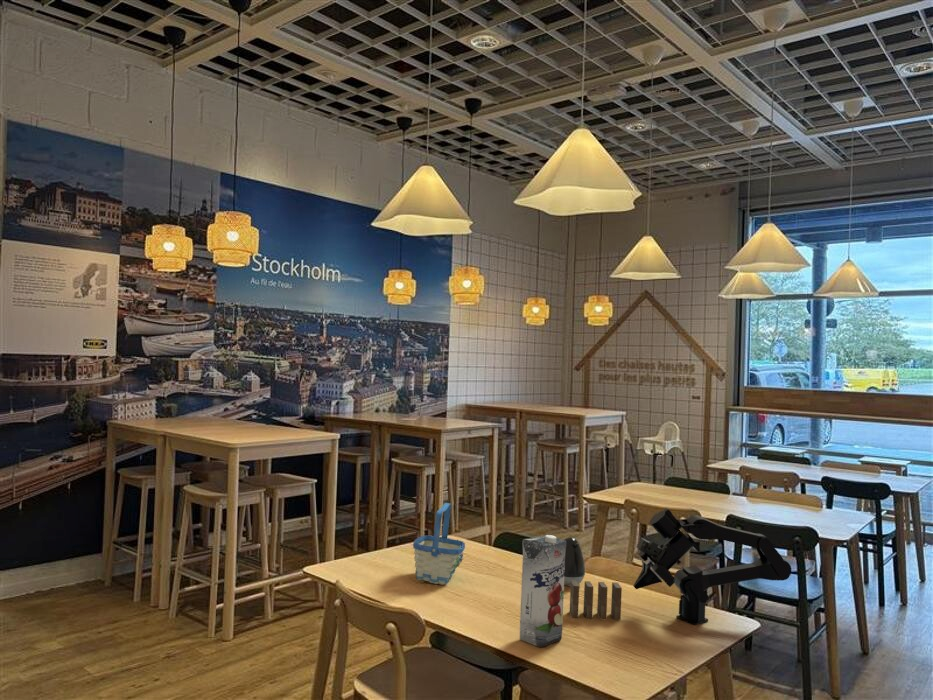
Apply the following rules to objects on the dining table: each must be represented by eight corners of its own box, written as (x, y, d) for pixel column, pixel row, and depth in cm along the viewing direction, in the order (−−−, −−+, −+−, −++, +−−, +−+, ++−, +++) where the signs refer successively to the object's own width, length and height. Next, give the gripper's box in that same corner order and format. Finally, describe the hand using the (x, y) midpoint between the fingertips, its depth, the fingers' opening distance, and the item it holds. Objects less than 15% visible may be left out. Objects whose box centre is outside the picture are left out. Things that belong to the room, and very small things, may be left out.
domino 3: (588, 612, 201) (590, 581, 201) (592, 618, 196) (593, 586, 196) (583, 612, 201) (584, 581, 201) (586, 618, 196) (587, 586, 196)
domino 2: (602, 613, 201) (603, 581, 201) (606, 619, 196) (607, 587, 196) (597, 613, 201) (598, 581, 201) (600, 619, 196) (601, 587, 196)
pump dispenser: (561, 589, 222) (563, 541, 222) (548, 579, 232) (550, 533, 232) (590, 588, 225) (592, 540, 225) (576, 578, 235) (578, 533, 235)
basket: (457, 590, 217) (461, 514, 218) (406, 585, 219) (410, 510, 220) (467, 571, 237) (470, 502, 238) (421, 567, 240) (424, 499, 241)
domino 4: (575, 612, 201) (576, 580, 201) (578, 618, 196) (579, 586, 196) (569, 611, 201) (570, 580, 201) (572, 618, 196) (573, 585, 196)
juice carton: (514, 639, 178) (518, 533, 179) (540, 630, 185) (544, 528, 186) (540, 650, 172) (545, 540, 173) (566, 640, 179) (570, 535, 180)
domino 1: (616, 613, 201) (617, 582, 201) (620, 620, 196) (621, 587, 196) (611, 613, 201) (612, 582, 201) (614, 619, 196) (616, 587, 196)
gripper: (646, 522, 209) (608, 558, 208) (664, 537, 190) (623, 576, 190) (671, 549, 209) (633, 585, 208) (692, 567, 190) (651, 606, 190)
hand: (634, 587), depth 199 cm, fingers closed
